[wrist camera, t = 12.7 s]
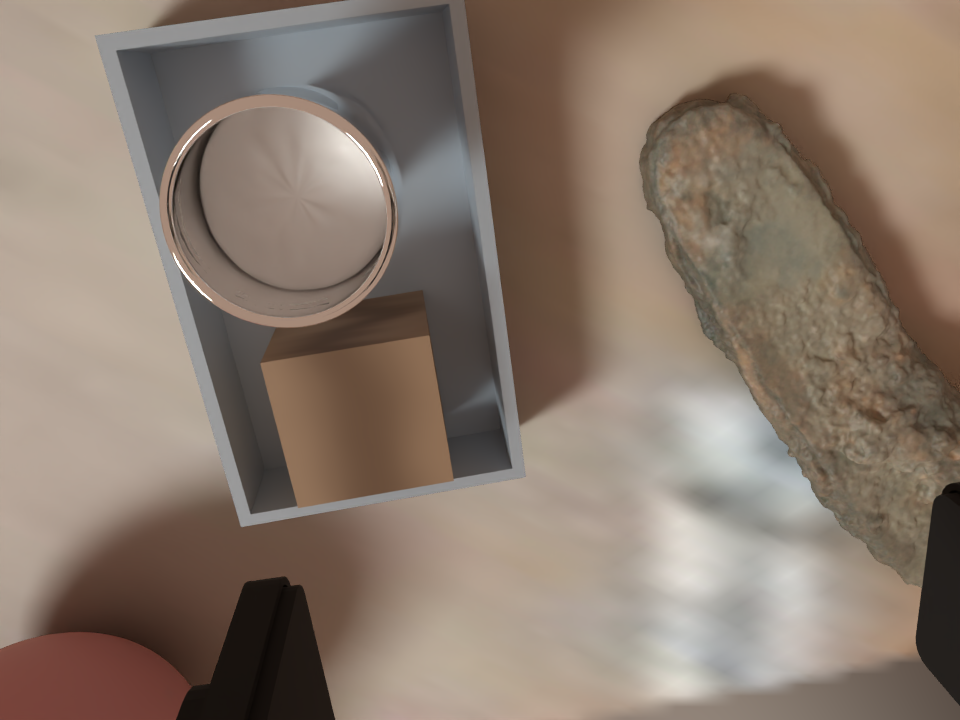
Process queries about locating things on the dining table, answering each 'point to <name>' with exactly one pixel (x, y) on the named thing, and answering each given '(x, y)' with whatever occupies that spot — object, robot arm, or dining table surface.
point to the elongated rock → (805, 321)
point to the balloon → (87, 680)
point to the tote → (421, 240)
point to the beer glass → (283, 205)
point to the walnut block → (359, 402)
